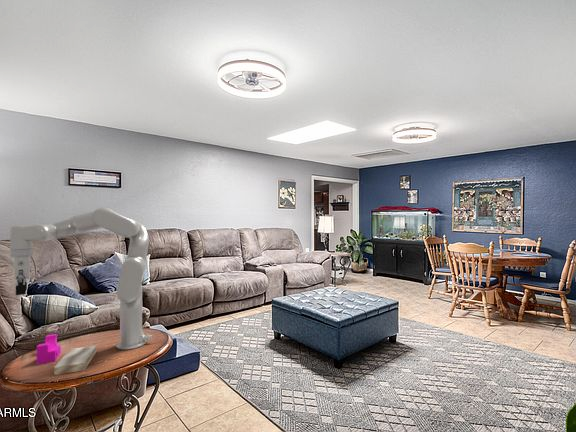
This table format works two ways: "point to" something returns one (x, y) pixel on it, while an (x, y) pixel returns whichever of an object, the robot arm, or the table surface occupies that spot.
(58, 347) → the toy block
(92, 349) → the plinth
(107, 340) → the table surface
